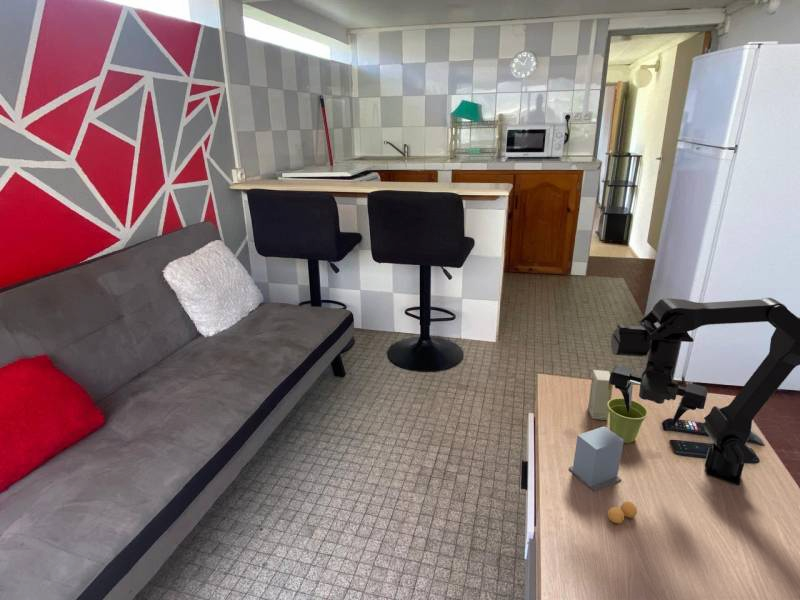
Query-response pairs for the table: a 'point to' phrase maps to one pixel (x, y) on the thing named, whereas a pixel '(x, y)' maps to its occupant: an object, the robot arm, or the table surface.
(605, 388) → the skincare box
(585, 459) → the grey rectangular block
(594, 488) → the pad
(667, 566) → the table surface
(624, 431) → the plant pot
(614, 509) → the ball
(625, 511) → the ball
